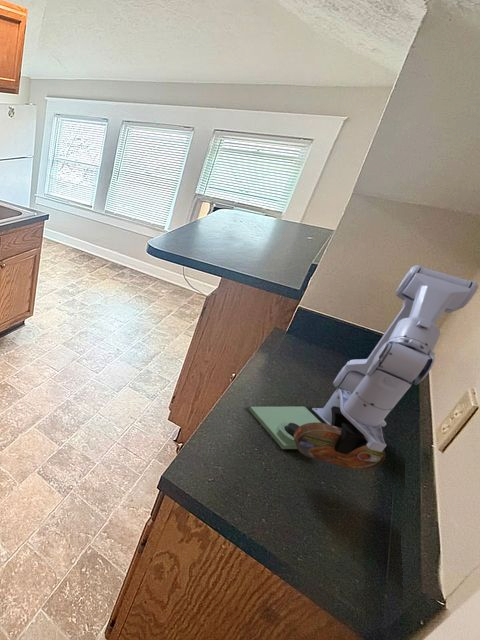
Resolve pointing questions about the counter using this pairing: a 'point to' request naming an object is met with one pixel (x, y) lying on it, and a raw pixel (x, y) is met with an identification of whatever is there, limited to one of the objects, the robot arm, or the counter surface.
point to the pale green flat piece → (282, 422)
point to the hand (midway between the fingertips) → (337, 445)
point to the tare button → (292, 428)
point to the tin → (321, 444)
